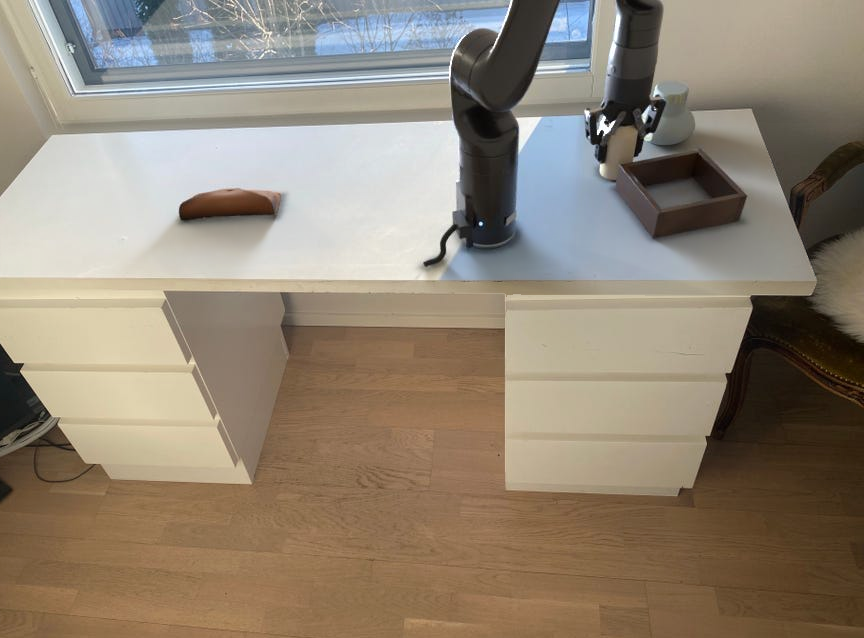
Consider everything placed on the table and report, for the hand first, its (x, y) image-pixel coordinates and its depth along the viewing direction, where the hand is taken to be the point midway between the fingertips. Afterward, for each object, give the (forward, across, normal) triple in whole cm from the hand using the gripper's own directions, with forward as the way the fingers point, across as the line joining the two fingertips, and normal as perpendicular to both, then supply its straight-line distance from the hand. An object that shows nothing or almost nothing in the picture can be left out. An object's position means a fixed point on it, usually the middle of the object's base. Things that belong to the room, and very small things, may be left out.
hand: (617, 157), depth 129 cm
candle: (+3, 0, 0) cm, 3 cm away
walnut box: (+3, -5, +12) cm, 14 cm away
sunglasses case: (+3, +70, -12) cm, 71 cm away
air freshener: (+3, -13, -8) cm, 16 cm away
